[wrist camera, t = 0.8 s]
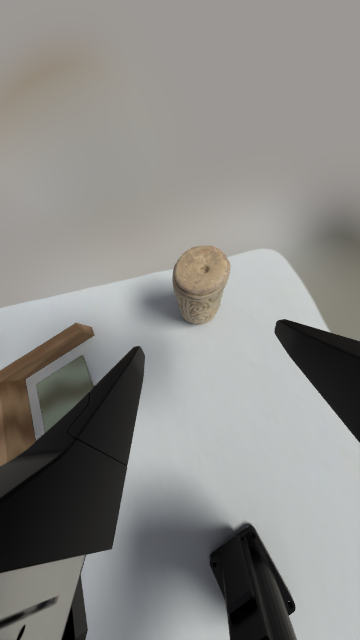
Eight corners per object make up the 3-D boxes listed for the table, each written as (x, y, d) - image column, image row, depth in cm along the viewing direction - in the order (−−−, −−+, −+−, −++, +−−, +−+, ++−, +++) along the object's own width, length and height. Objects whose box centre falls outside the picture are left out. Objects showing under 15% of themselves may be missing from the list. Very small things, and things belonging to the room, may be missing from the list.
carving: (224, 298, 24) (245, 247, 13) (206, 333, 23) (213, 310, 12) (194, 286, 26) (189, 231, 15) (176, 318, 25) (156, 285, 13)
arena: (128, 422, 21) (114, 434, 18) (31, 487, 20) (-2, 512, 17) (91, 327, 27) (75, 322, 24) (15, 375, 26) (-12, 378, 23)
